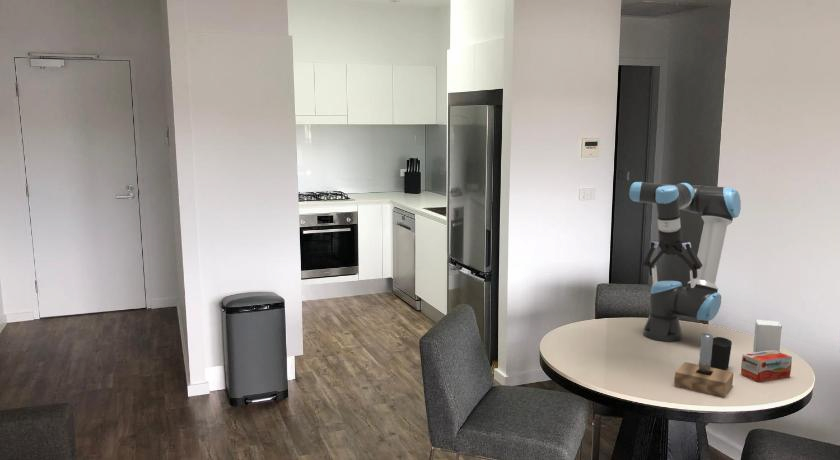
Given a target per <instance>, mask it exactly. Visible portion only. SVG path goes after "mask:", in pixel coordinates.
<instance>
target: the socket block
mask: <svg viewBox="0 0 840 460" xmlns="http://www.w3.org/2000/svg"><path fill="white" fill-rule="evenodd" d="M698 371H699V364H698V363H697V364H696V363H691V362H687V361H684V362H683V363H682V364H681V365H680V366H679V367H678V368H677V369H676V371H675V372H674V384H673V386H674V387H677V388H681V389H686V390H690V391H694V392H698V393H702V394H703V393H704V394H708V395H711V396H716V397H719V398H720V397H721V398H726V396H727V394H728V393H729V391H730V390H731V389H732V387H733V382H734V371H730V370H727V369H726V370H721V369H716V368H711V367H710V376H709V375H704V374H700V373H698Z"/></svg>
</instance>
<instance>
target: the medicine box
mask: <svg viewBox="0 0 840 460" xmlns="http://www.w3.org/2000/svg"><path fill="white" fill-rule="evenodd" d="M741 356H742V358H741V366H740V375H741V376H742V377H746V378H748V379H750V380H752V381H755V382H757V383H763V382H768V381H775V380H782V379H787V378H790V377H791V372H792V361H793V357H792V356H791V355H788V354H785V353H783V352H778V351H775V350H768V351H761V352H754V353H753V352H748V353H742V355H741Z"/></svg>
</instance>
